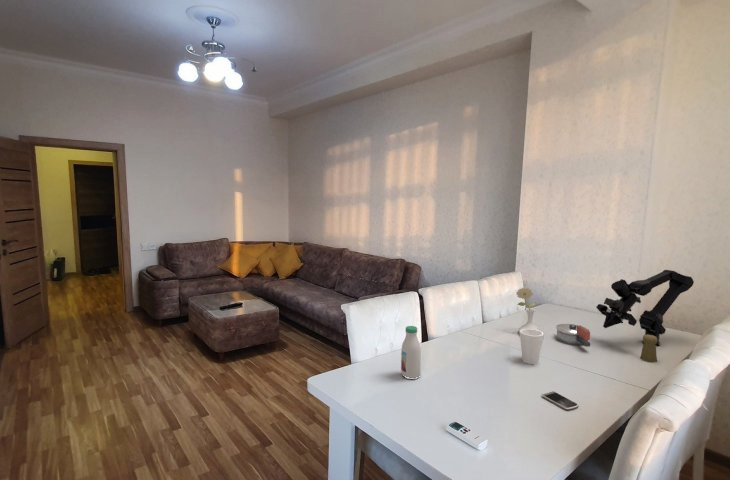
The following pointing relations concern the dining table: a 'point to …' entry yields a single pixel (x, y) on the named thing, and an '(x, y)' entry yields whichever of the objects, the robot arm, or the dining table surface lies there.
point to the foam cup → (531, 345)
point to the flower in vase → (525, 294)
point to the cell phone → (560, 401)
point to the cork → (649, 348)
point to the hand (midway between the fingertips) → (604, 327)
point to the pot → (572, 339)
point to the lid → (574, 330)
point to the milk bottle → (411, 354)
